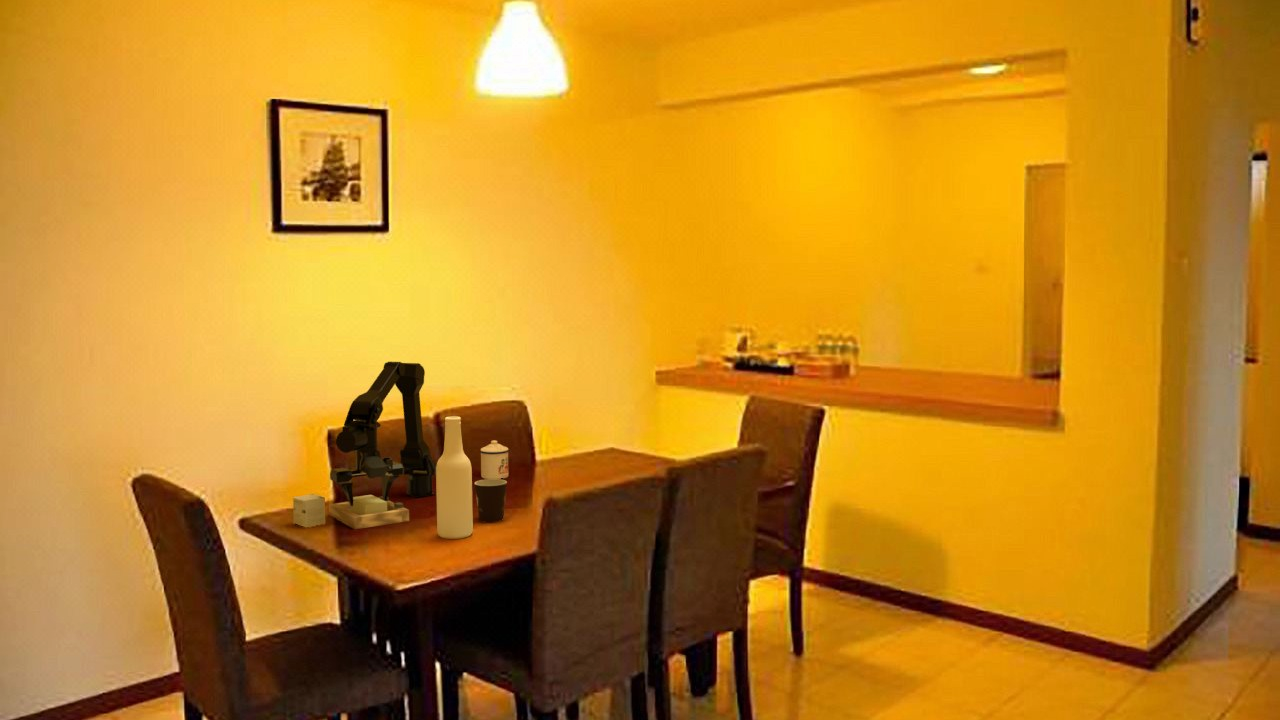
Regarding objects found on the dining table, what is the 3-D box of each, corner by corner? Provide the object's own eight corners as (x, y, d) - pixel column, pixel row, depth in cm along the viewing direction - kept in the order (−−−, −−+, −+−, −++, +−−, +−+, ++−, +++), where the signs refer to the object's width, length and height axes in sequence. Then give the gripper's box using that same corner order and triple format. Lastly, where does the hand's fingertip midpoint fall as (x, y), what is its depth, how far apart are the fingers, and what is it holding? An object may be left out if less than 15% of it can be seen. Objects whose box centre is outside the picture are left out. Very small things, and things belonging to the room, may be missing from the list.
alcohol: (441, 530, 274) (439, 414, 271) (475, 530, 274) (473, 414, 271) (434, 539, 265) (431, 419, 262) (469, 539, 265) (466, 420, 262)
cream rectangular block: (371, 508, 294) (371, 494, 293) (387, 516, 285) (387, 502, 284) (350, 512, 290) (350, 497, 290) (365, 520, 281) (365, 505, 281)
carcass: (381, 507, 300) (381, 493, 299) (409, 520, 284) (408, 506, 284) (329, 515, 291) (328, 500, 291) (354, 529, 276) (354, 514, 275)
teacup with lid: (503, 480, 335) (502, 443, 334) (476, 479, 337) (475, 442, 336) (516, 472, 347) (515, 437, 346) (489, 471, 349) (489, 436, 348)
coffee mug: (501, 524, 280) (500, 486, 279) (470, 522, 282) (469, 485, 281) (515, 513, 292) (514, 477, 291) (485, 512, 294) (484, 476, 293)
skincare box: (293, 524, 281) (292, 497, 280) (313, 520, 286) (312, 493, 285) (305, 528, 277) (304, 500, 276) (326, 524, 282) (325, 496, 281)
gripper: (343, 454, 274) (345, 514, 275) (411, 446, 285) (413, 504, 286) (328, 448, 283) (330, 506, 284) (395, 440, 294) (396, 496, 295)
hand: (368, 503), depth 287 cm, fingers open, 9 cm apart
